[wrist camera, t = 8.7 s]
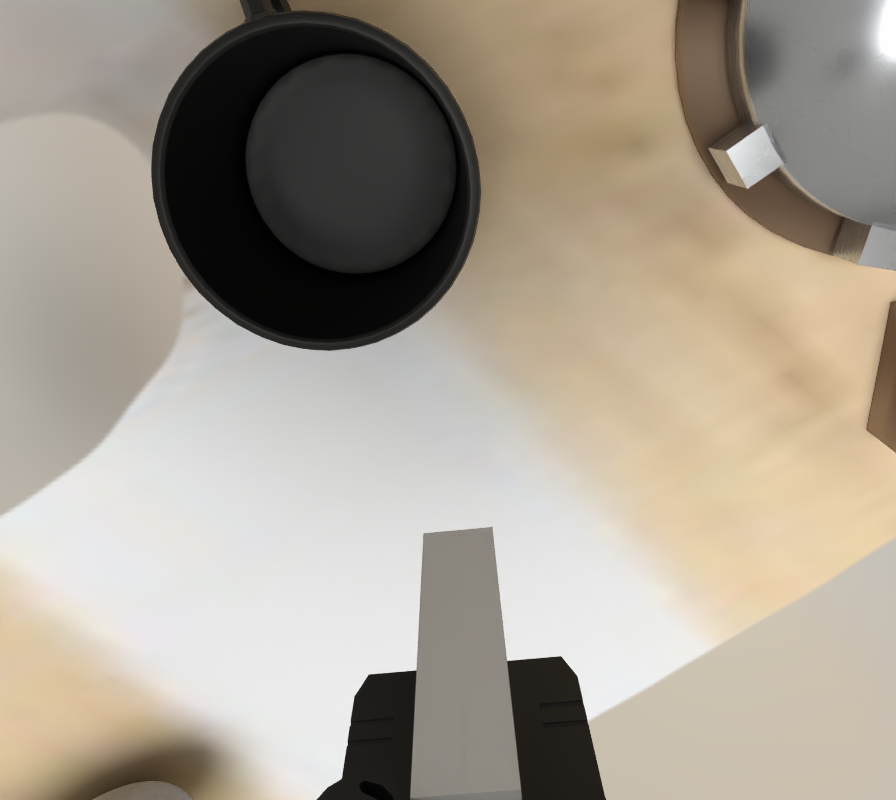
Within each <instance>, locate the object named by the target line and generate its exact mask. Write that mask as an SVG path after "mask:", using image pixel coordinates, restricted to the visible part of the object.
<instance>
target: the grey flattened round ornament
mask: <svg viewBox="0 0 896 800" xmlns="http://www.w3.org/2000/svg"><path fill="white" fill-rule="evenodd" d="M92 800H193V799H192V798H191V797H190V796H189V795H188V794H187V793H186V792H185V791H184V790H182V789H181V788H179V787H177V786H175V785H173V784H170V783H167V782H162V781H142V782H136V783H131V784H128V785H124V786H121V787H118V788H116V789H113V790H111V791H108V792H106V793H104V794H102V795H100V796H98V797H96V798H94V799H92Z"/></svg>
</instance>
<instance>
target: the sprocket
mask: <svg viewBox="0 0 896 800" xmlns="http://www.w3.org/2000/svg"><path fill="white" fill-rule="evenodd" d="M727 57H728V70H729V76H730V83H731V89H732V94H733V98H734V101H735V104H736V108H737V111H738V115H739V118H740V121H741V123H742V124H740V125H739V126H738V127H736V128H735V129H733V130H732V131H731V132H729V133H728V134H726V135H725V136H724V137H722V138H721V139H719V140H718V141H717V142H715V143H714V144H712V145H711V146H709V147H708V149H709V151H710V153H711V154H712V156H713V158H714V160H715V161H716V163H717V165H718V167H719V168H720V170H721V172H722V174H723V175H724V177H725V179H726V181H727V182H728V183H730V184H733V185H736V186H740V187H743V188H747V189H748V188H749V187H751V186H752V185H754V184H755V183H757V182H758V181H760V180H761V179H762V178H764V177H765V176H767V175H768V174H770V173H771V172H772V173H773V174H774V175H775V176H776V177H777V178H778V179H779V181H780V182H782V183H783V184H784V185H785V186H786V187H788V188H789V189H790V190H791V191H793V192H794V193H795V194H796V195H797V196H799V197H800V198H802V199H804V200H806V201H807V202H809V203H811V204H812V205H814V206H816V207H817V208H820V209H822V210H825V211H827V212H830V213H832V214H835V215H837V216H840V217H843V218H844V221H843V224H842V227H841V230H840V233H839V236H838V238H837V241H836V244H835V247H834V250H833V253H832V255H835V256H837V257H840V258H842V259H845V260H847V261H850V262H852V263H855V264H857V265H863V266H869V267H876V268H882V269H889V270H895V271H896V0H731V1H730V6H729V17H728V29H727Z"/></svg>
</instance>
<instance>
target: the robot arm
mask: <svg viewBox="0 0 896 800" xmlns="http://www.w3.org/2000/svg"><path fill="white" fill-rule="evenodd" d="M317 800H606V798H605V795H604V791H603V786H602V782H601V778H600V773H599V769H598V765H597V760H596V756H595V751H594V747H593V743H592V738H591V734H590V730H589V725H588V722H587V716H586V712H585V708H584V705H583V699H582V695H581V690H580V686H579V682H578V677H577V675H576V674H575V673H574V672H573V670H572V669H571V668H570V667H569V665H568V664H567V663H566V662H565V661H564V659H563V658H562V657H561V656H560V657H549V658H537V659H525V660H514V661H507V657H506V648H505V639H504V630H503V621H502V612H501V603H500V593H499V584H498V575H497V566H496V557H495V548H494V539H493V530H492V527H489V528H478V529H467V530H456V531H445V532H435V533H424V535H423V555H422V575H421V594H420V614H419V634H418V654H417V671H406V672H394V673H382V674H371V675H368V677H367V678H366V680H365V681H364V683H363V685H362V686H361V688H360V689H359V691H358V692H357V694H356V695H355V697H354V704H353V710H352V717H351V726H350V730H349V736H348V746H347V749H346V756H345V762H344V769H343V776H342V779H341V780H340V781H338V782H336V783H335V784H333V785H331V786H330V787H328V788H327V789H326V790H325V791H324V792H323V793H322V794H321V796H320V797H319V798H318V799H317Z"/></svg>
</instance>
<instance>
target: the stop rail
mask: <svg viewBox="0 0 896 800" xmlns="http://www.w3.org/2000/svg"><path fill="white" fill-rule="evenodd" d="M867 431H869V432H870V433H871V434H872V435H874V436H875V437H876V438H878V439H879V440H880V441H881V442H883V443H884V444H885V445H887V446H888V447H889V448H890V449H892V450H893V451H894V452H895V453H896V302H891V306H890V311H889V316H888V322H887V327H886V332H885V337H884V343H883V348H882V353H881V358H880V364H879V369H878V374H877V379H876V385H875V390H874V395H873V400H872V405H871V411H870V416H869V421H868V426H867Z"/></svg>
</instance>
